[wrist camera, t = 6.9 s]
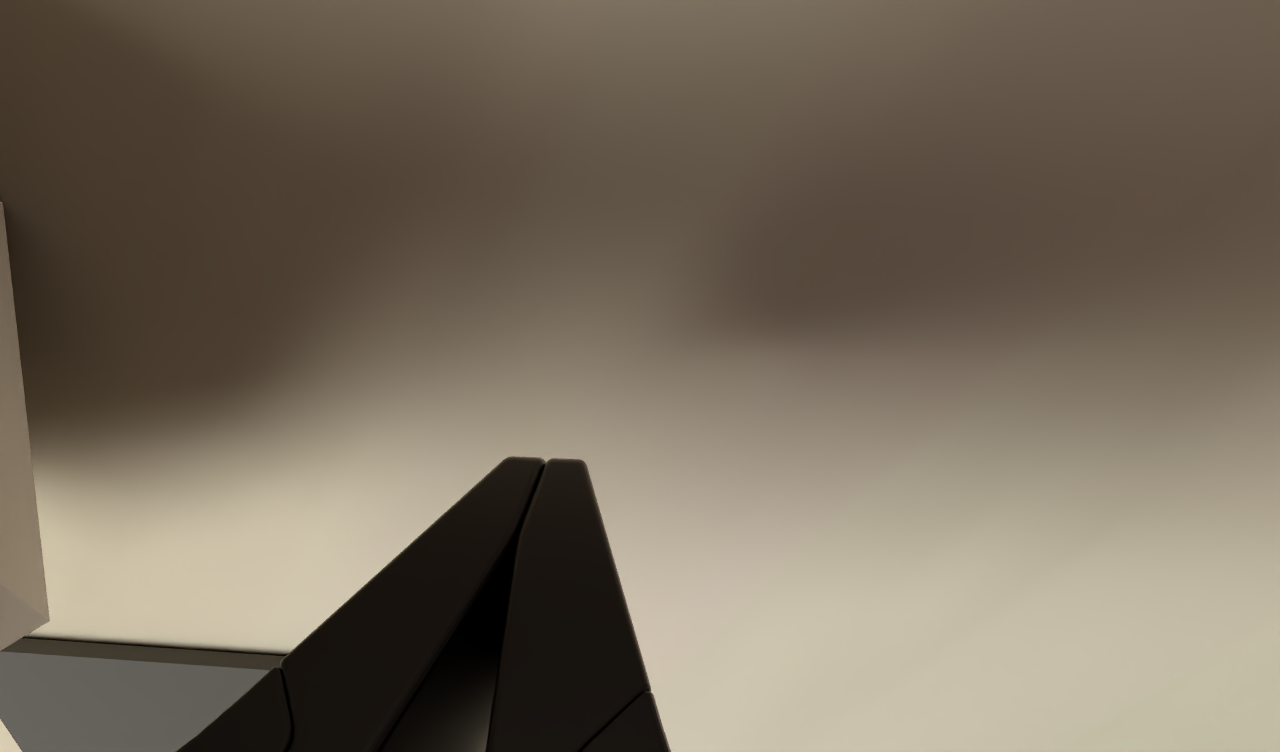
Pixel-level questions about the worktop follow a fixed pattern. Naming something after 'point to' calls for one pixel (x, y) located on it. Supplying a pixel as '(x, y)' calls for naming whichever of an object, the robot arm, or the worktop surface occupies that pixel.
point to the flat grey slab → (117, 694)
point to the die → (16, 483)
